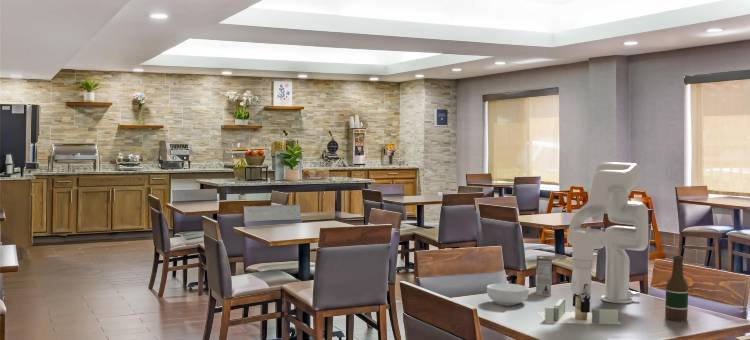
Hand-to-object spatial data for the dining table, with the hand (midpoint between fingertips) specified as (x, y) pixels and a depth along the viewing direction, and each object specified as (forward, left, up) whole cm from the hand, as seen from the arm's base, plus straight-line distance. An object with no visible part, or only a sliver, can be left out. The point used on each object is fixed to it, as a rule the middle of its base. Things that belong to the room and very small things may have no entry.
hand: (580, 309), depth 264 cm
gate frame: (+1, -2, -4) cm, 5 cm away
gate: (+7, -4, -3) cm, 9 cm away
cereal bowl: (+22, -26, -5) cm, 34 cm away
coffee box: (+2, -46, -4) cm, 46 cm away
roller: (0, 0, -4) cm, 4 cm away
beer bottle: (-38, -4, -4) cm, 38 cm away
